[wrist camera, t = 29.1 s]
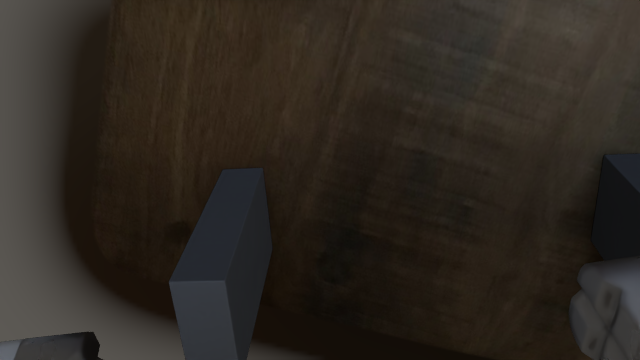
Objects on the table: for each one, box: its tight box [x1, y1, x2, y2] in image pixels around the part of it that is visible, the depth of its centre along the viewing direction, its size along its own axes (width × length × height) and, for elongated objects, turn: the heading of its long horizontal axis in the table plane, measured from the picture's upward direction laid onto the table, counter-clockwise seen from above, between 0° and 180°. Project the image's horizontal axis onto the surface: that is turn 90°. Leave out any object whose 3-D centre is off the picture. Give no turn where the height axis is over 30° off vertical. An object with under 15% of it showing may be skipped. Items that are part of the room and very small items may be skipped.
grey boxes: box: [169, 154, 640, 360], centre depth 37 cm, size 30×7×14 cm, turn 94°
